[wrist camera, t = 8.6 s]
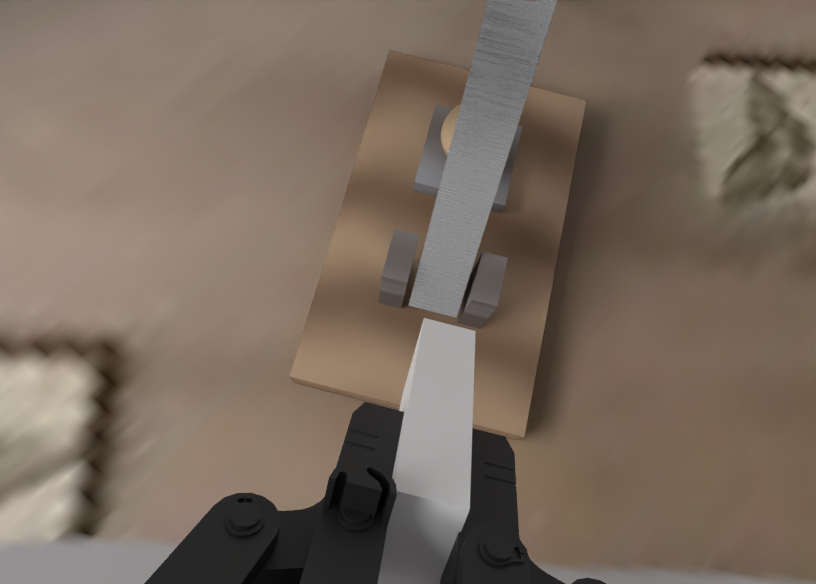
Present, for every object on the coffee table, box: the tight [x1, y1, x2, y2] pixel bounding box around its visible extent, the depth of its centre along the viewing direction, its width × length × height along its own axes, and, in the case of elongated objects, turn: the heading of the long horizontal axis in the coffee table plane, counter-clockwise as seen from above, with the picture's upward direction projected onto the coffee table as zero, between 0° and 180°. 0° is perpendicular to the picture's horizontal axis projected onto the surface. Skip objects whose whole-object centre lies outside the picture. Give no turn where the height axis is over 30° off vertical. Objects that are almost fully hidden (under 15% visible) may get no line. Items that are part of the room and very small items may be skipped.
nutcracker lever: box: [408, 0, 559, 318], centre depth 26 cm, size 4×4×17 cm
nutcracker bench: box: [290, 50, 586, 440], centre depth 32 cm, size 20×12×7 cm, turn 166°
